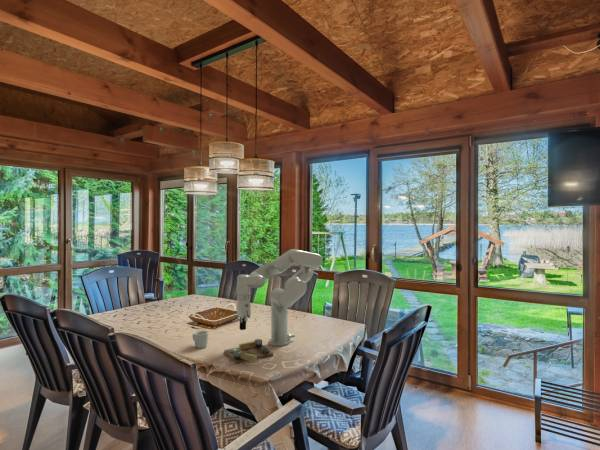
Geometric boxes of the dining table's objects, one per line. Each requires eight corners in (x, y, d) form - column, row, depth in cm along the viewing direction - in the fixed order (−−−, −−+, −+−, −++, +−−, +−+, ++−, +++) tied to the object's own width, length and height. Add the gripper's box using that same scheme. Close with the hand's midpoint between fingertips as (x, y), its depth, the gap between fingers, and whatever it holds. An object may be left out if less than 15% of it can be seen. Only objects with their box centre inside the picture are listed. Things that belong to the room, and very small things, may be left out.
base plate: (259, 345, 202) (259, 339, 202) (273, 355, 187) (273, 349, 186) (224, 352, 191) (224, 346, 191) (235, 364, 176) (235, 357, 176)
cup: (187, 346, 201) (187, 332, 201) (198, 342, 208) (198, 328, 207) (200, 350, 195) (200, 336, 195) (211, 346, 202) (211, 332, 201)
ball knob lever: (260, 343, 199) (260, 338, 199) (263, 346, 195) (263, 340, 195) (238, 348, 193) (238, 342, 193) (241, 350, 189) (240, 345, 189)
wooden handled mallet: (231, 358, 179) (231, 352, 179) (237, 355, 183) (237, 349, 183) (253, 363, 173) (253, 357, 173) (258, 360, 176) (258, 354, 176)
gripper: (254, 298, 193) (254, 332, 193) (244, 293, 206) (244, 325, 206) (242, 300, 189) (241, 334, 190) (232, 294, 202) (231, 326, 202)
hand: (242, 329), depth 198 cm, fingers closed
